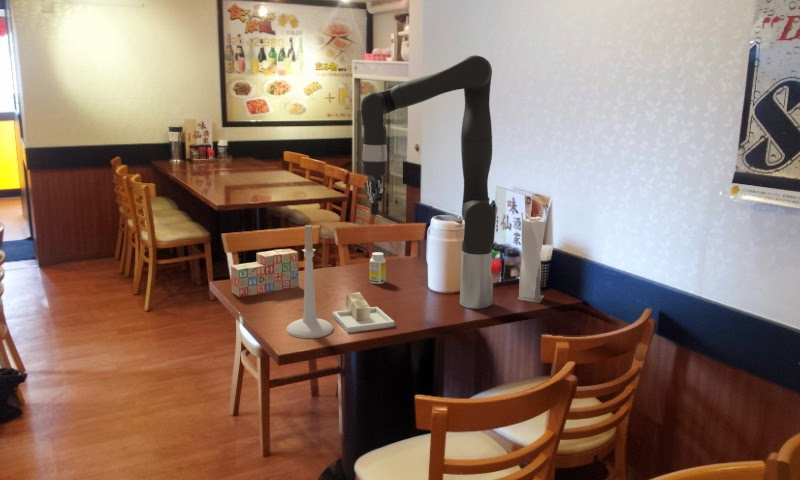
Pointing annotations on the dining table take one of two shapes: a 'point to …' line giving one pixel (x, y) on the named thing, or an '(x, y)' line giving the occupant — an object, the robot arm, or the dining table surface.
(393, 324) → the tray
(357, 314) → the block
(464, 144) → the robot arm
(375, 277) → the supplement bottle
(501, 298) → the dining table surface
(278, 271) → the stack of blocks
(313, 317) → the candlestick
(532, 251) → the skyscraper
